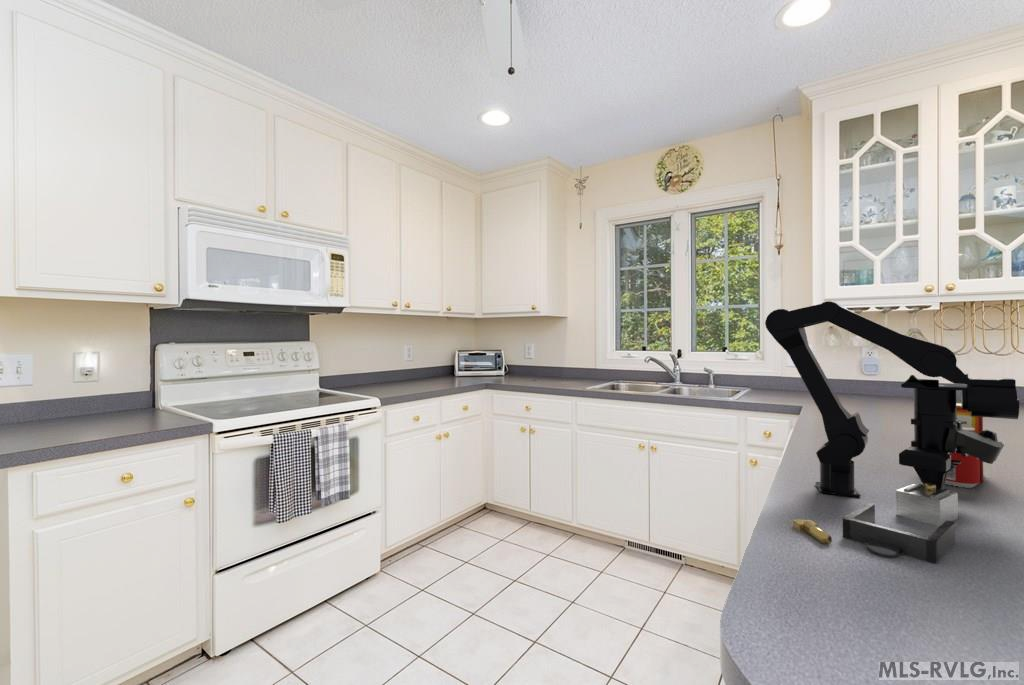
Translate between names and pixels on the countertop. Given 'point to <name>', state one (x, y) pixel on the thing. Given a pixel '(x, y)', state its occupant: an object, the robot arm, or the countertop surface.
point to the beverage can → (964, 469)
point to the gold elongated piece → (812, 530)
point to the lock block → (927, 503)
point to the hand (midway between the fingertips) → (935, 499)
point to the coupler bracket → (896, 537)
